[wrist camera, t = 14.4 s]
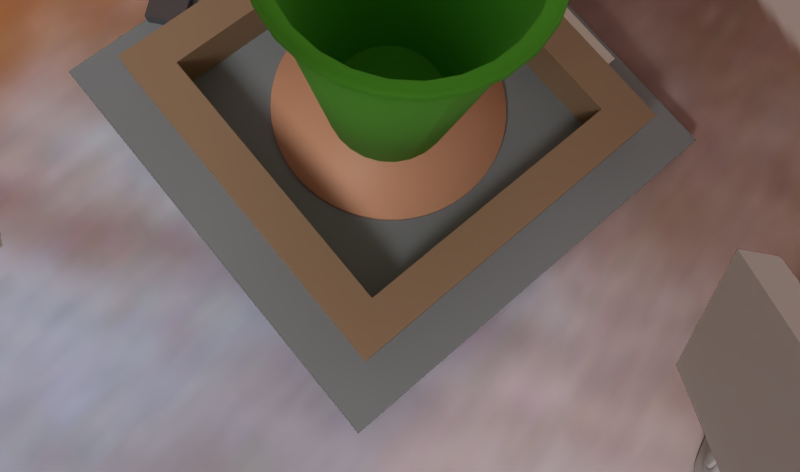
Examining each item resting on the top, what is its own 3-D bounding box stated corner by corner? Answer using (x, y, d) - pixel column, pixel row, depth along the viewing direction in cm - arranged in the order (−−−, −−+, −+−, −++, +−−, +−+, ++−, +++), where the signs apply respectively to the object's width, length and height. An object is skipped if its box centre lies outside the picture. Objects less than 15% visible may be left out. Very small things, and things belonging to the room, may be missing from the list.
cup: (450, -14, 30) (506, -238, 19) (525, 172, 28) (632, 41, 17) (254, 41, 29) (195, -165, 18) (320, 238, 27) (298, 142, 16)
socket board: (78, 82, 29) (47, 47, 26) (413, -143, 32) (419, -195, 30) (357, 431, 27) (358, 437, 24) (684, 147, 30) (720, 122, 27)
